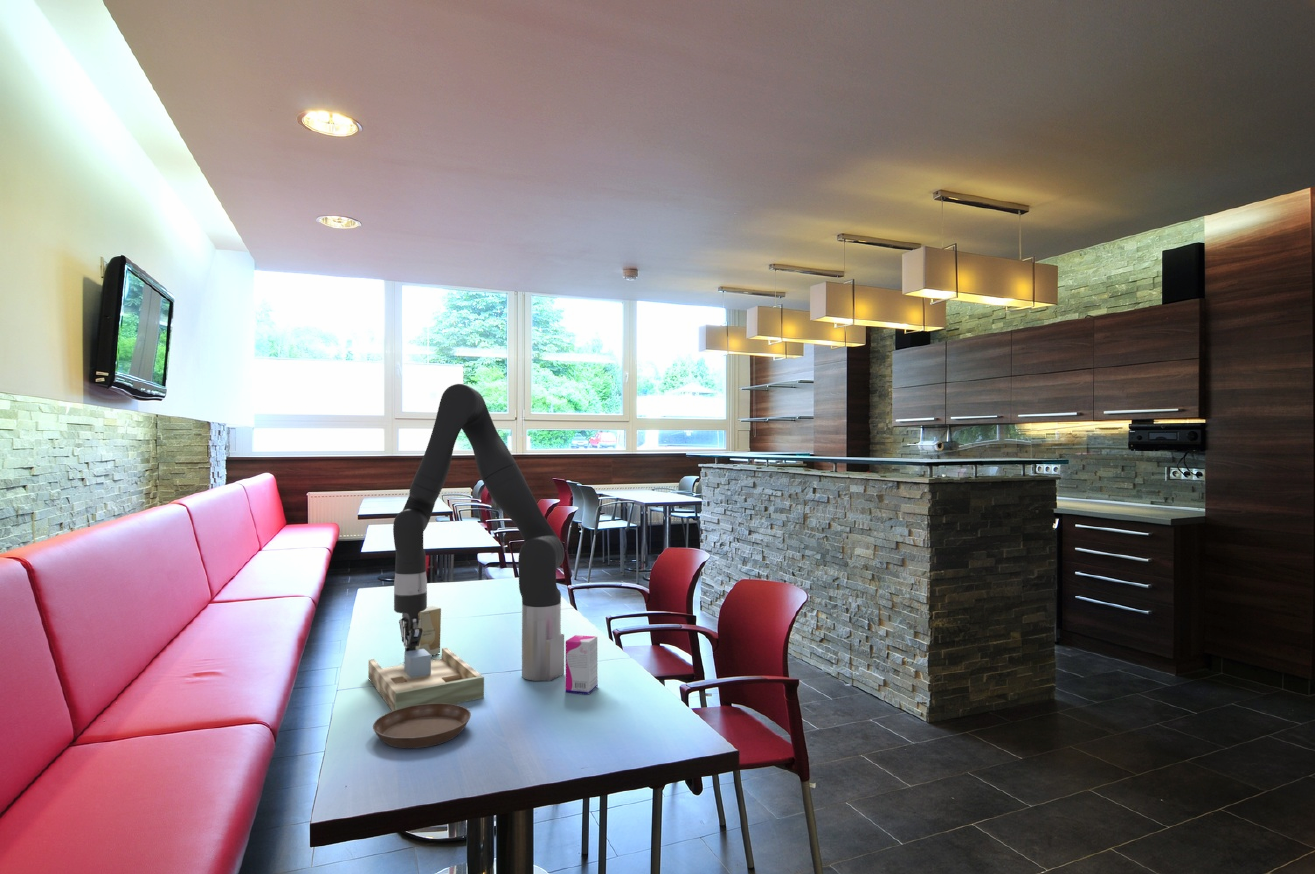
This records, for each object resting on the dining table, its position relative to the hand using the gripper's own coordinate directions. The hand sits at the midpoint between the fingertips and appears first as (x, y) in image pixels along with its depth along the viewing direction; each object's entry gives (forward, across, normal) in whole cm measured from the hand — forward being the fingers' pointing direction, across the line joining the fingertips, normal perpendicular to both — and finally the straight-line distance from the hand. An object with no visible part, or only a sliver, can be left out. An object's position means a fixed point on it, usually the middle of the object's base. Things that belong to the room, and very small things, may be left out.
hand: (410, 662), depth 168 cm
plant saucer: (+3, -38, +7) cm, 39 cm away
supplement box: (+3, -33, -30) cm, 44 cm away
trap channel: (+3, -12, 0) cm, 12 cm away
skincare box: (+3, +13, -7) cm, 15 cm away
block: (+1, -7, 0) cm, 7 cm away
